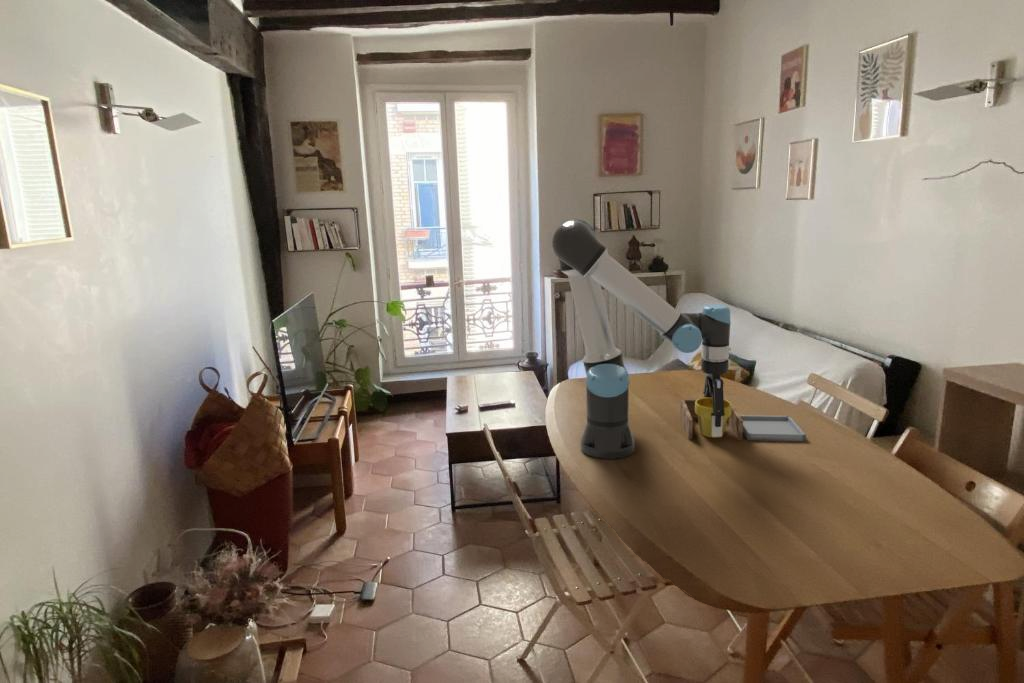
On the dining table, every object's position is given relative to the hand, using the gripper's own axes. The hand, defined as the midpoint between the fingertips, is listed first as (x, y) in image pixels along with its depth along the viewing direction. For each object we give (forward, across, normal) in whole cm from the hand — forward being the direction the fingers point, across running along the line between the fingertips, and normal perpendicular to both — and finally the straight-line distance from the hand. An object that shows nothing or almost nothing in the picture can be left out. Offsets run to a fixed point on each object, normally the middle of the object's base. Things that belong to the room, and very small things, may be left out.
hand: (712, 427), depth 184 cm
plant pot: (+2, 0, 0) cm, 2 cm away
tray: (+2, +3, -17) cm, 17 cm away
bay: (+2, +4, 0) cm, 5 cm away
